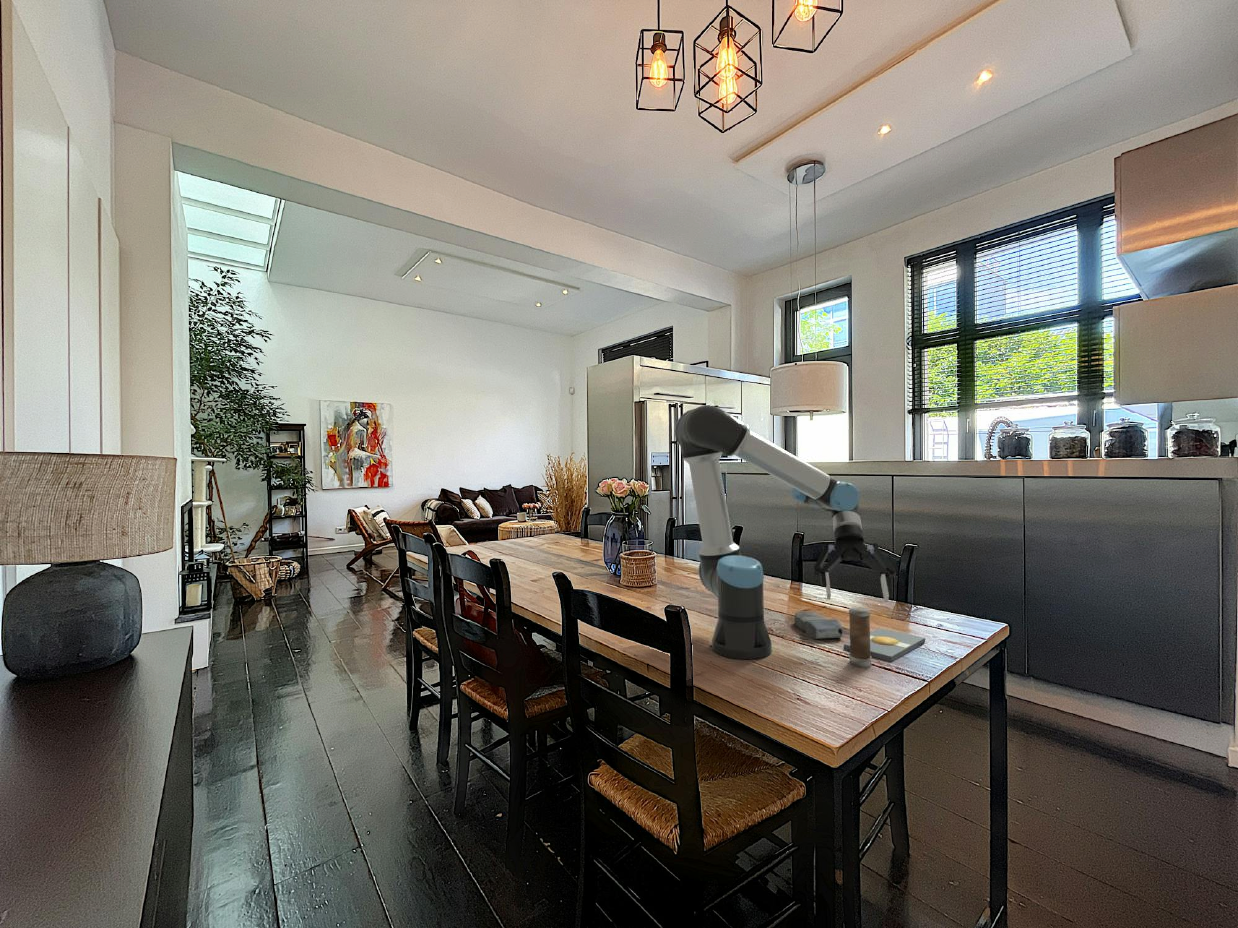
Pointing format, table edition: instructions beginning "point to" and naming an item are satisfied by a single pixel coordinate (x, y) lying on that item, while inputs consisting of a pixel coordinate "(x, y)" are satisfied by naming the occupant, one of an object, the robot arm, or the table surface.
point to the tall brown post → (860, 637)
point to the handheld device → (818, 625)
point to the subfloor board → (890, 644)
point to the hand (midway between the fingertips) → (857, 598)
